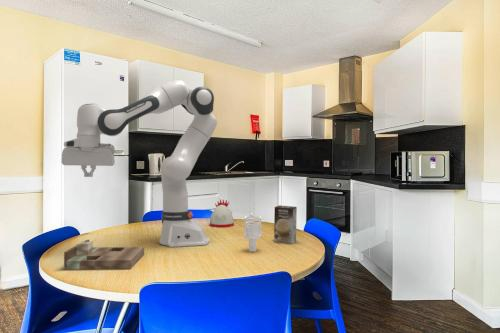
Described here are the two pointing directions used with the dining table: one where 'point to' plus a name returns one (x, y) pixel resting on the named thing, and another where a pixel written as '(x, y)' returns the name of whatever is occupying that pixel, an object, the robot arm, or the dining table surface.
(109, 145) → the robot arm
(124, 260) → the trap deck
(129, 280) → the dining table surface
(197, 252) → the dining table surface
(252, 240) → the clear glass tall piece
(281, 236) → the coffee box
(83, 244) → the cube
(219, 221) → the kitchen timer
